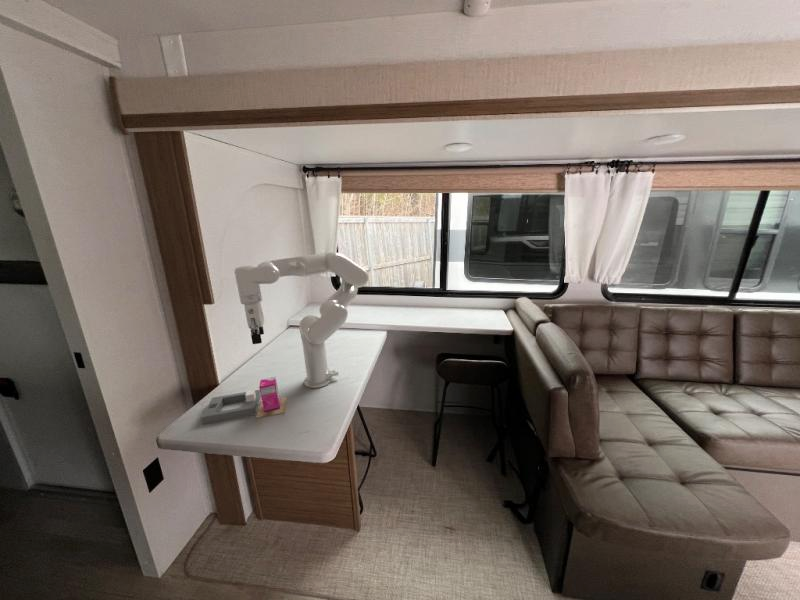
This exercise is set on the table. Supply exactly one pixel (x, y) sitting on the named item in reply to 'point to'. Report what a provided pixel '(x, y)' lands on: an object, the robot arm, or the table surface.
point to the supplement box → (269, 394)
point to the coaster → (272, 412)
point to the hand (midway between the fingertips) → (258, 338)
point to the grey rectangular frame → (216, 404)
